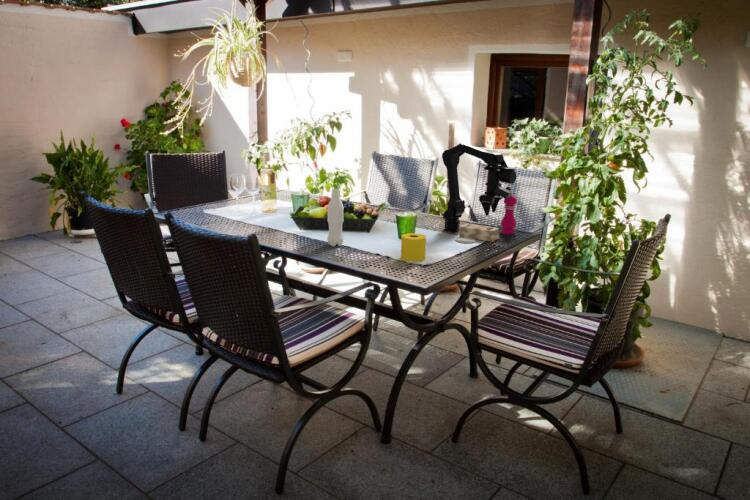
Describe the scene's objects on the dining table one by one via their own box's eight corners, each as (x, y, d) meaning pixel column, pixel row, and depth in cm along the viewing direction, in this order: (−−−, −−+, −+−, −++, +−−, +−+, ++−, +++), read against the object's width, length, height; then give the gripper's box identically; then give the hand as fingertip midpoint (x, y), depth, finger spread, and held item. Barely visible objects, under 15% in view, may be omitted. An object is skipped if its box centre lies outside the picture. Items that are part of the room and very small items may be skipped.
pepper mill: (515, 235, 295) (518, 194, 289) (500, 234, 296) (503, 193, 291) (515, 231, 301) (518, 191, 296) (500, 230, 303) (503, 190, 297)
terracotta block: (467, 231, 289) (467, 226, 288) (470, 230, 292) (470, 224, 291) (485, 234, 284) (485, 229, 284) (488, 232, 288) (488, 227, 287)
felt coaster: (452, 241, 281) (452, 240, 280) (460, 237, 288) (460, 236, 288) (471, 244, 276) (471, 243, 276) (478, 240, 284) (478, 239, 283)
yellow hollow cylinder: (407, 262, 246) (408, 240, 244) (396, 256, 255) (397, 234, 253) (429, 260, 250) (430, 238, 248) (418, 254, 259) (418, 232, 256)
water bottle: (346, 244, 273) (346, 188, 266) (339, 247, 266) (340, 191, 259) (331, 242, 275) (331, 187, 268) (324, 246, 268) (324, 189, 262)
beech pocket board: (459, 236, 290) (460, 226, 288) (465, 233, 296) (466, 223, 294) (492, 241, 281) (493, 231, 280) (498, 238, 288) (499, 228, 286)
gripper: (504, 185, 268) (500, 220, 272) (516, 179, 284) (513, 212, 288) (479, 182, 273) (477, 216, 278) (493, 177, 289) (490, 209, 293)
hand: (490, 213), depth 284 cm, fingers open, 9 cm apart
